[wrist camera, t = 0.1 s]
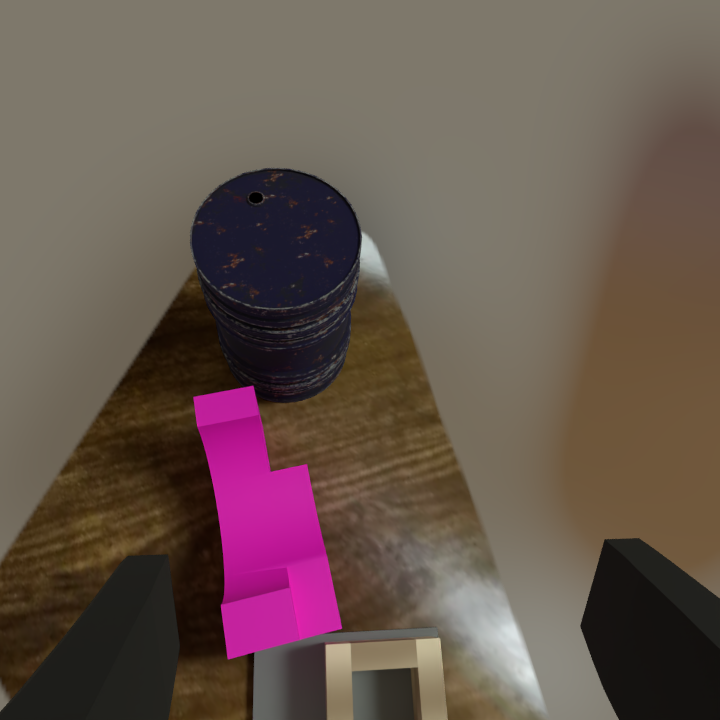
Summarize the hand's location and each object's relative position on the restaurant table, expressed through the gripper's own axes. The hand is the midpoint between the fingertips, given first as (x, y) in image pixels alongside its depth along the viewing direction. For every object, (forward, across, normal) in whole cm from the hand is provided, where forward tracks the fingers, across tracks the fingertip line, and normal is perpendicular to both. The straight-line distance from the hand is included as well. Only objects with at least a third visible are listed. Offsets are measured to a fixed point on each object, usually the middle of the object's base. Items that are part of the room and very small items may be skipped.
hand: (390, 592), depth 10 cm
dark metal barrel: (+36, +3, +11) cm, 38 cm away
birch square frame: (+17, -4, +27) cm, 32 cm away
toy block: (+25, +4, +20) cm, 32 cm away
